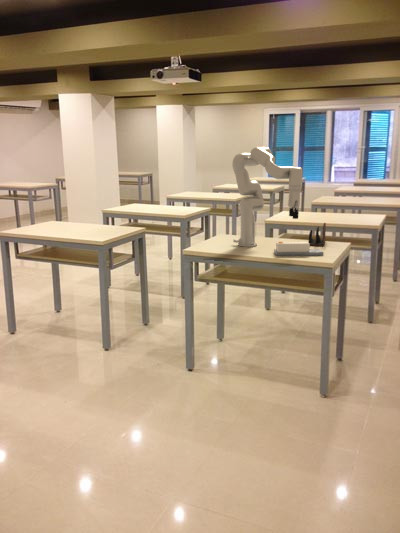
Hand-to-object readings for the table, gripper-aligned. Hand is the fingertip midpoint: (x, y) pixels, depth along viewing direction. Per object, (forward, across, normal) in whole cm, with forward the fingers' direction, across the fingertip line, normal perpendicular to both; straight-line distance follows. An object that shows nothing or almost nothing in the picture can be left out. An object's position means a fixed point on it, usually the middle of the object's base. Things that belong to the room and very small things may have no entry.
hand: (293, 217), depth 291 cm
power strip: (+20, 0, 0) cm, 20 cm away
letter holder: (+23, -33, +24) cm, 47 cm away
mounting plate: (+22, +1, +4) cm, 23 cm away
